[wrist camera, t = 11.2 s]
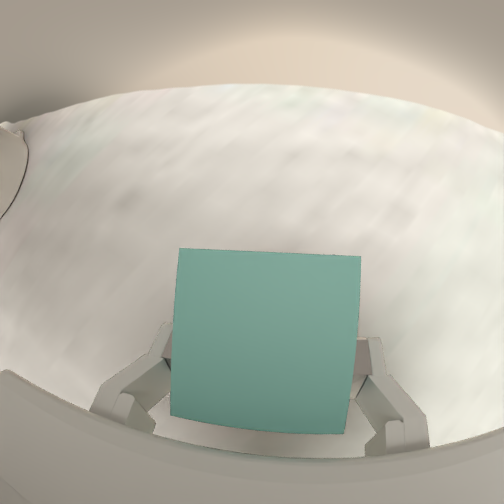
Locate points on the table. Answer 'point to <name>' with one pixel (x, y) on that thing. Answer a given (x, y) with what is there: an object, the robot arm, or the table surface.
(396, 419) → the robot arm
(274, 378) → the teal block
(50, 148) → the table surface
